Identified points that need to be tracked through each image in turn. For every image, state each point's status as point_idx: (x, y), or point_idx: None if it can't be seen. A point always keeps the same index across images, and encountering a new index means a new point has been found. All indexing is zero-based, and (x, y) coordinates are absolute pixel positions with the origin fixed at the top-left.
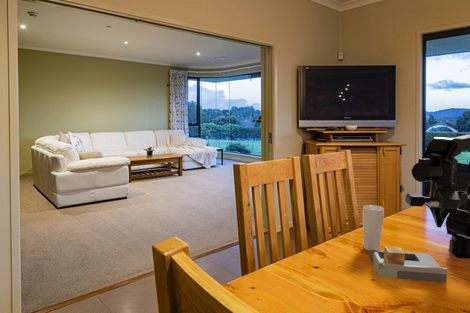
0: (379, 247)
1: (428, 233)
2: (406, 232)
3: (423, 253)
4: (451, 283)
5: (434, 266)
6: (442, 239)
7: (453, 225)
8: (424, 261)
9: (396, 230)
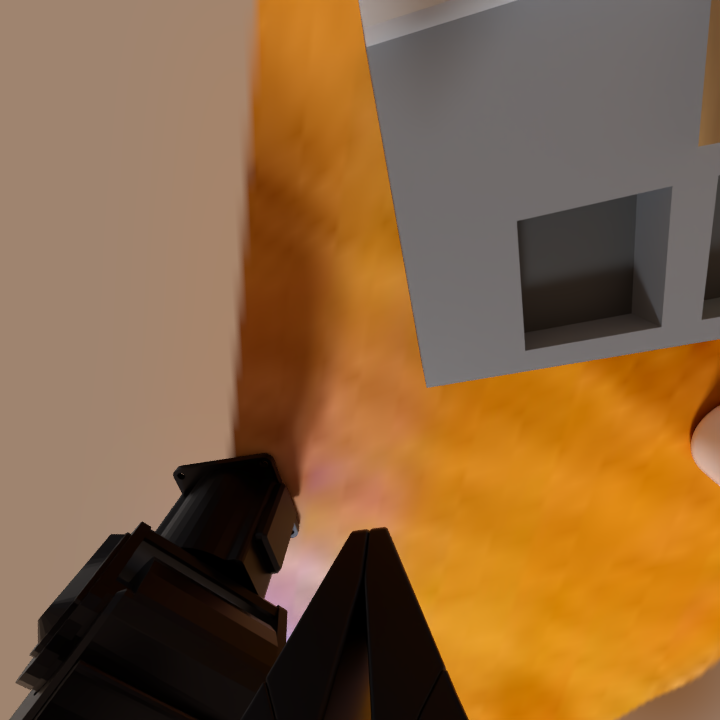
0: (713, 430)
1: None
2: (462, 668)
3: (459, 379)
4: (333, 51)
5: (429, 158)
6: None
7: (222, 659)
8: (485, 232)
9: (506, 679)
